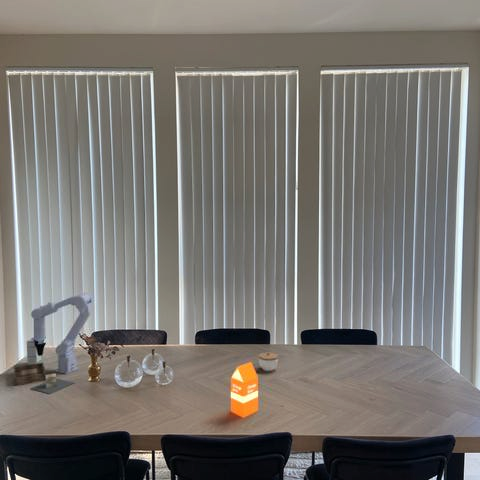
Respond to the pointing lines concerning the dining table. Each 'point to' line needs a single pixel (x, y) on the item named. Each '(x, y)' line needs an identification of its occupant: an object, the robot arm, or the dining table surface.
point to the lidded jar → (268, 361)
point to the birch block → (50, 380)
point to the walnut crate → (29, 374)
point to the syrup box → (32, 353)
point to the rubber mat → (59, 385)
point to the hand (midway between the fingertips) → (39, 353)
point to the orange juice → (244, 390)
